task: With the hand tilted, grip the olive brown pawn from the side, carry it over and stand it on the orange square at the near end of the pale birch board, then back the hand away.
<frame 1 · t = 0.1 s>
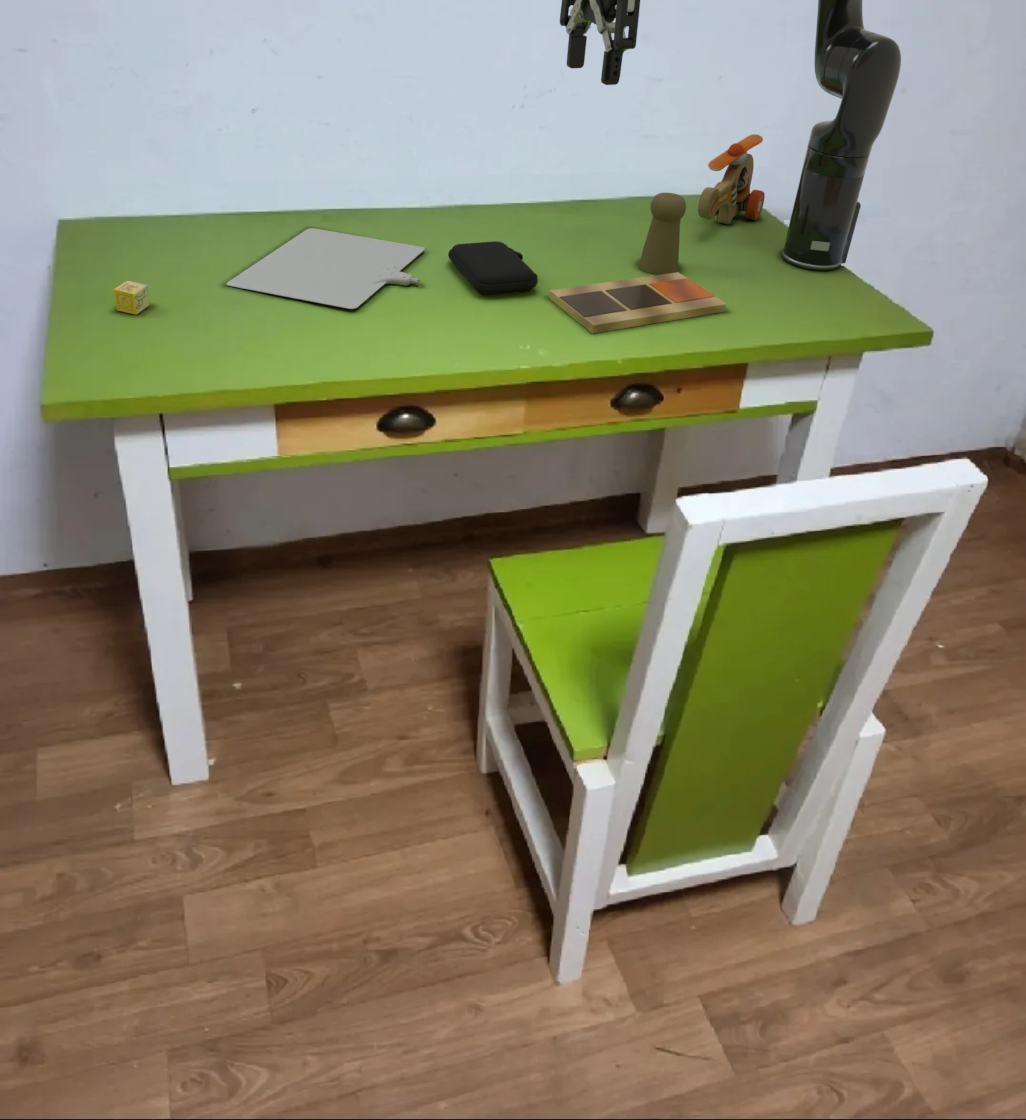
hand: (591, 75, 133), 29 cm above the table, tool pointing down, fingers open, 8 cm apart
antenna: (342, 271, 152), on the table
carrying case: (494, 278, 154), on the table
alphabet block: (133, 310, 137), on the table
board: (637, 305, 150), on the table
olive brown pawn: (658, 268, 162), on the table
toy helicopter: (722, 225, 180), on the table
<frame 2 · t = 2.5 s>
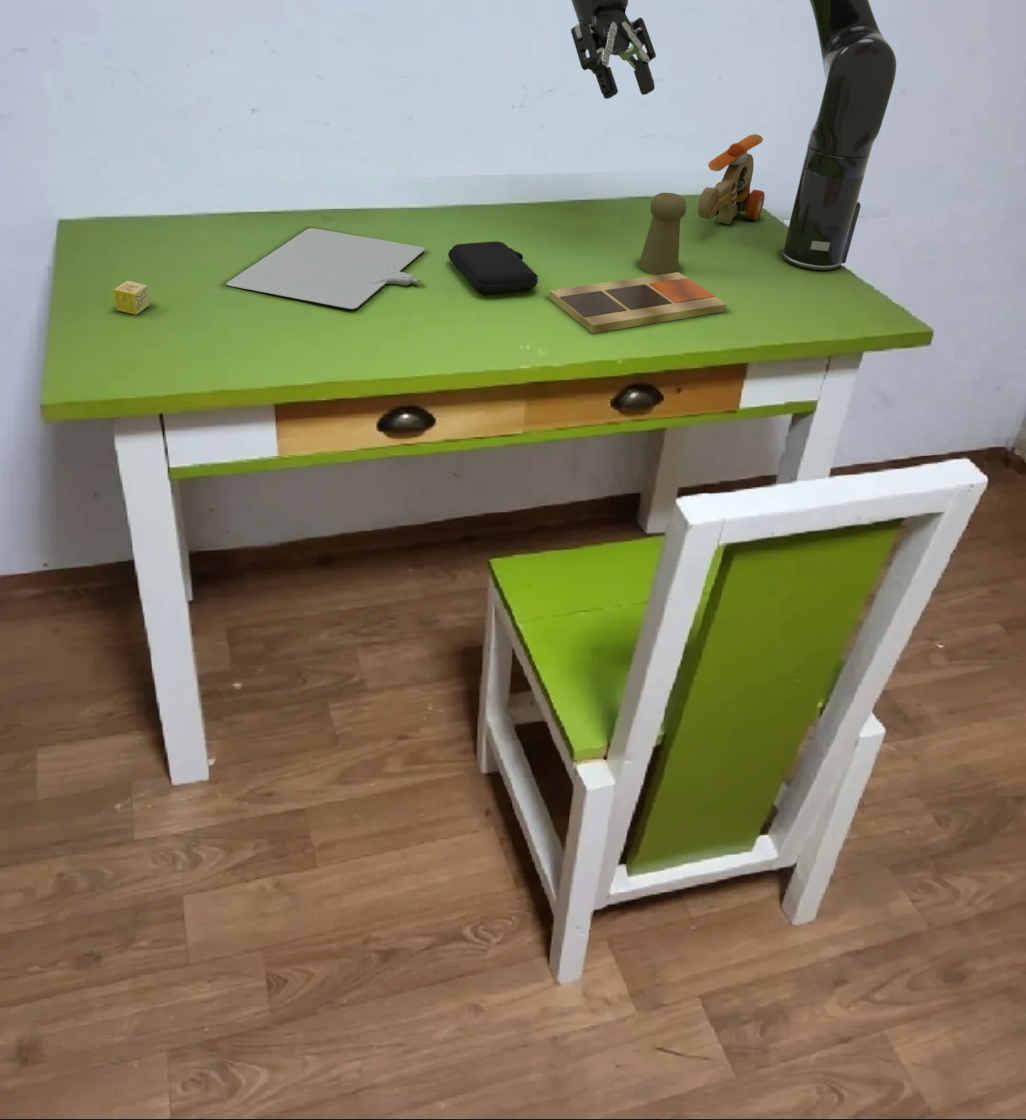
hand: (630, 94, 154), 23 cm above the table, tool tilted 35°, fingers open, 8 cm apart
nothing on the table moved.
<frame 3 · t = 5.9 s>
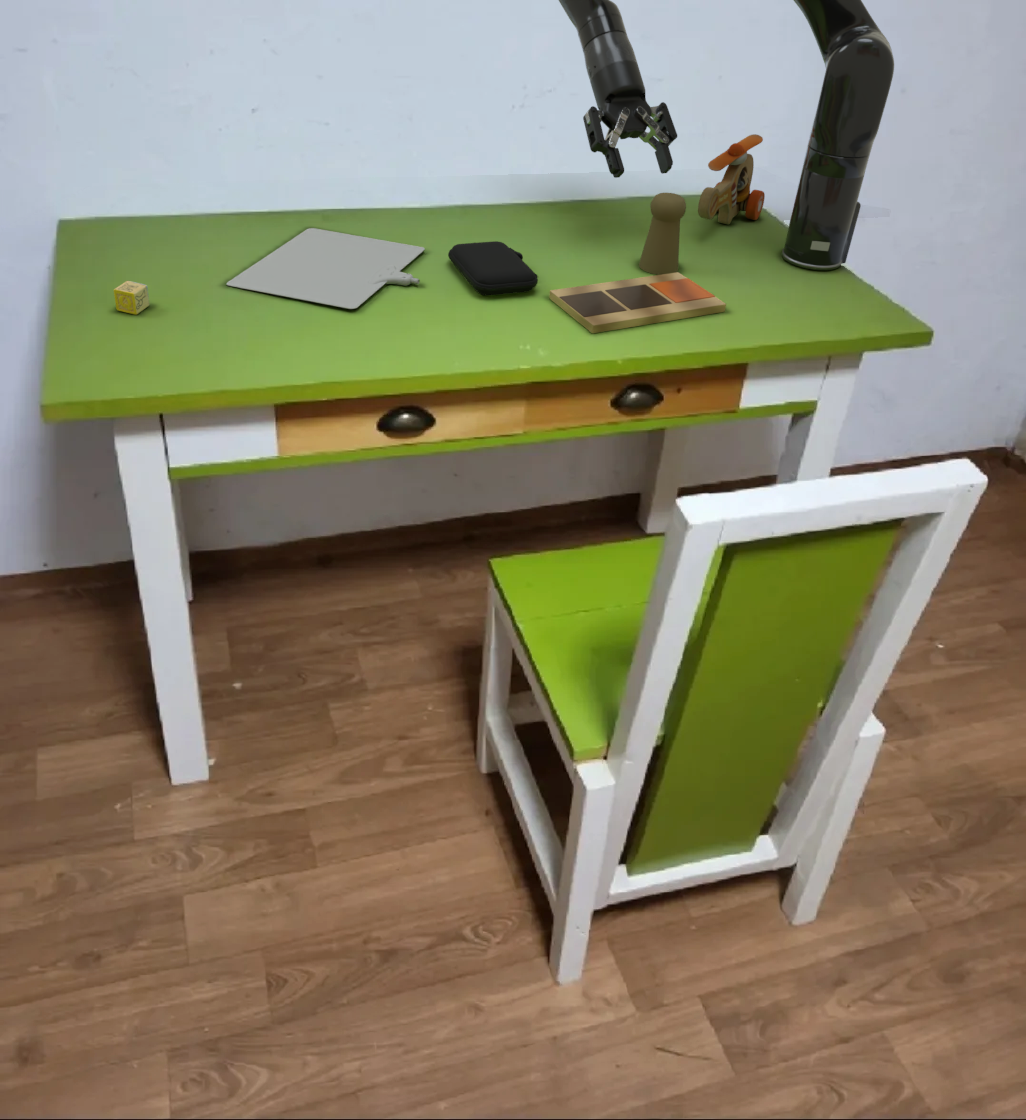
hand: (643, 173, 160), 12 cm above the table, tool tilted 45°, fingers open, 8 cm apart
nothing on the table moved.
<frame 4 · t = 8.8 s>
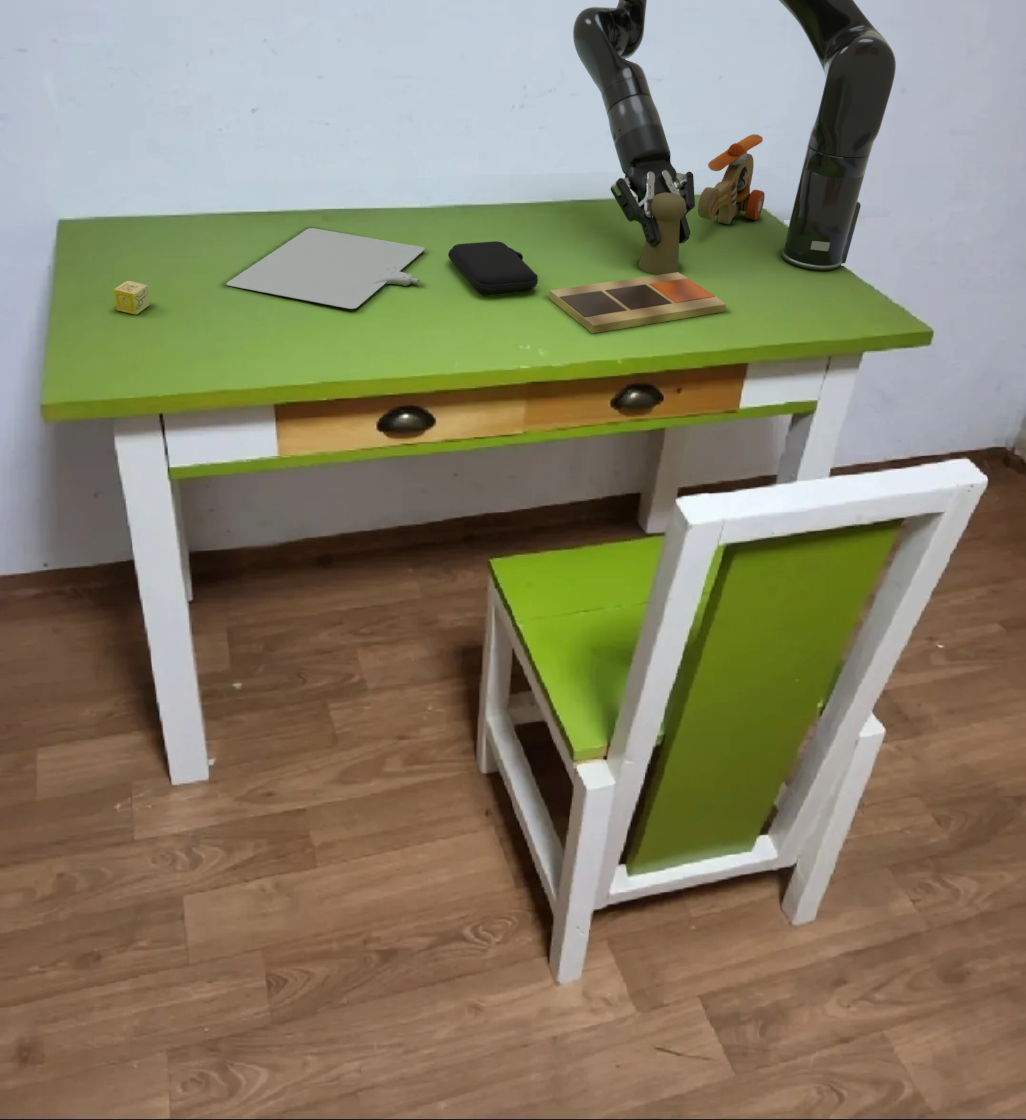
hand: (670, 242, 158), 5 cm above the table, tool tilted 45°, fingers closed on olive brown pawn, 4 cm apart
olive brown pawn: (658, 268, 162), on the table, touching gripper
everything else where it was.
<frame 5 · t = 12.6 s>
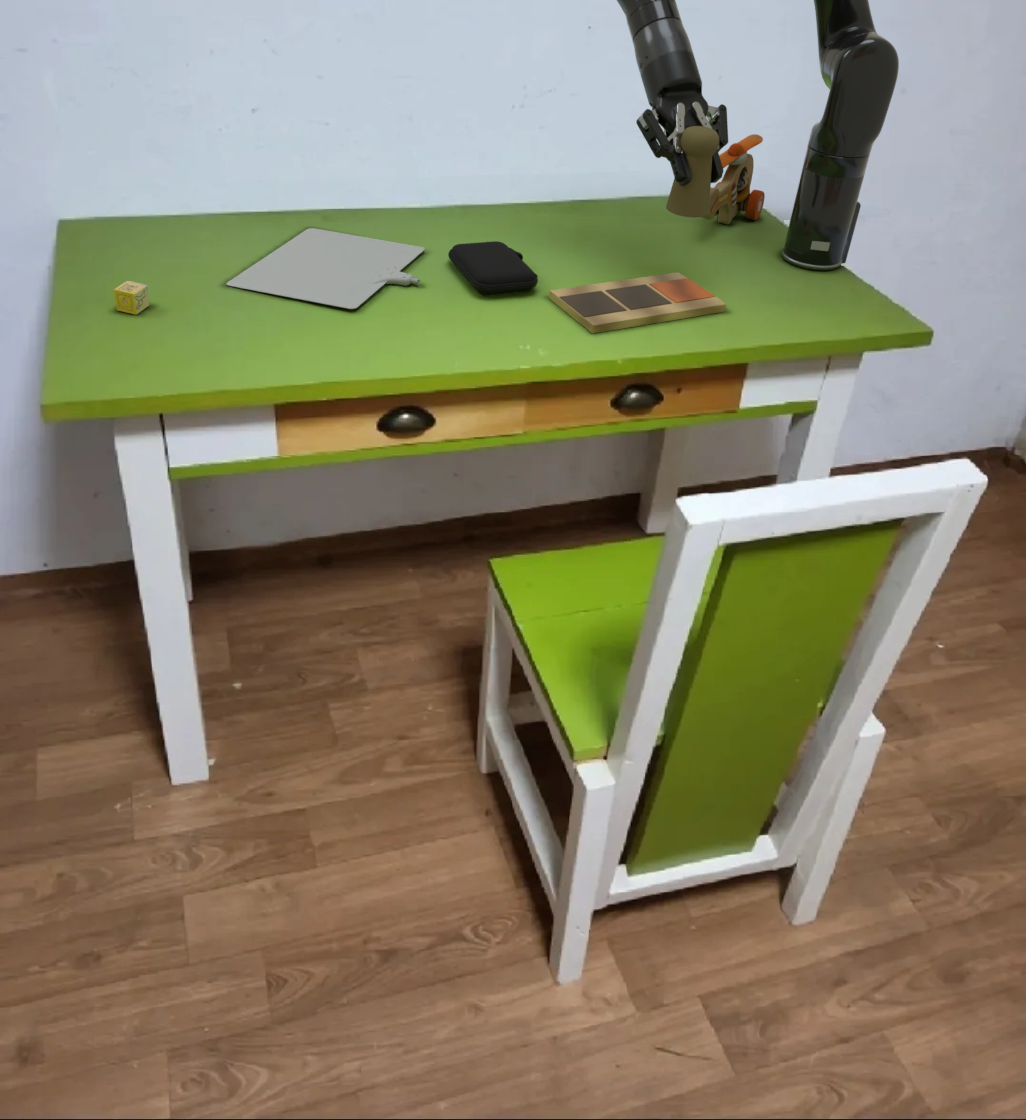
hand: (701, 181, 144), 16 cm above the table, tool tilted 45°, fingers closed on olive brown pawn, 4 cm apart
olive brown pawn: (687, 211, 148), point 12 cm above the table, touching gripper
everything else where it was.
when the fingers open (6 cm above the table, at t = 16.2 s): olive brown pawn stays where it is, resting on board.
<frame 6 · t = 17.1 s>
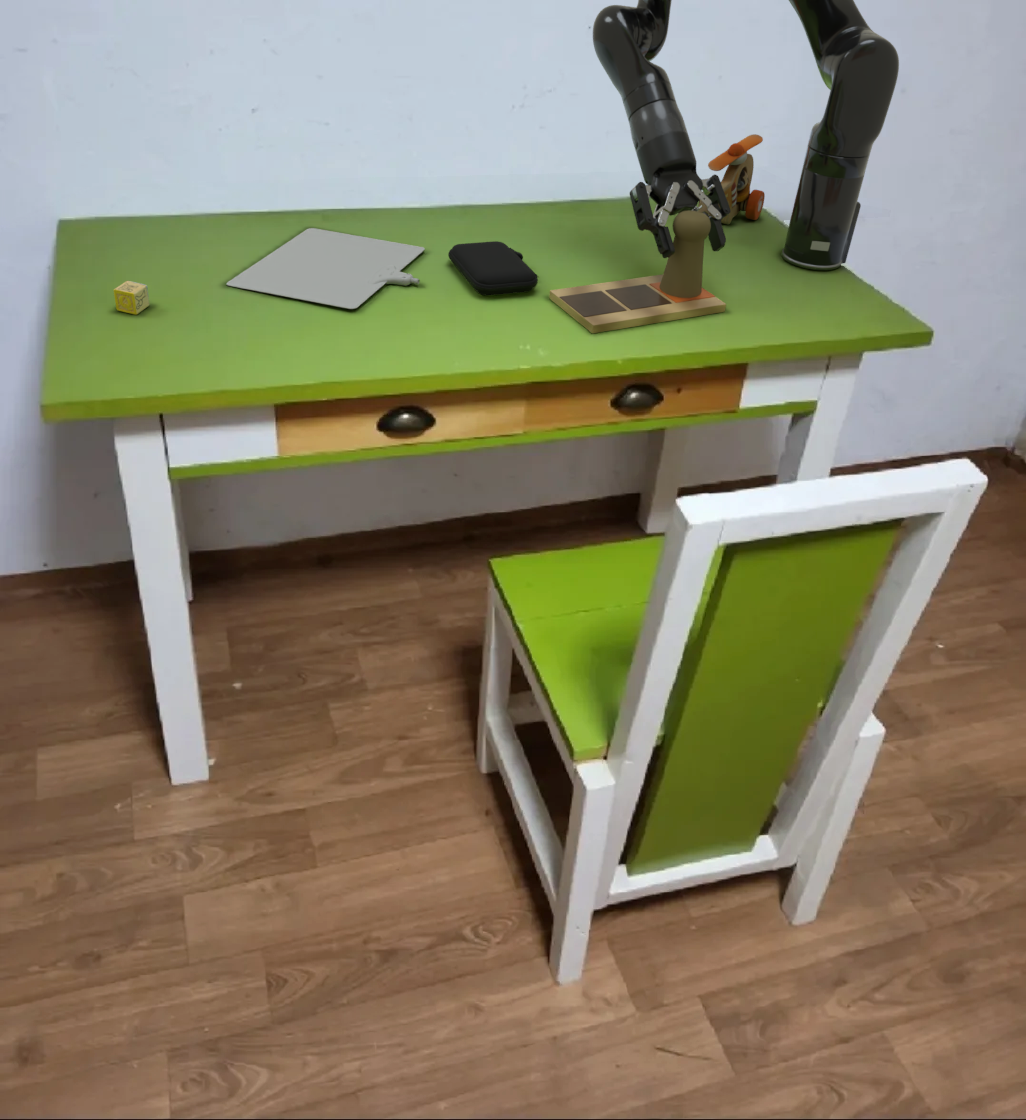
hand: (694, 252, 148), 7 cm above the table, tool tilted 45°, fingers open, 8 cm apart
olive brown pawn: (680, 290, 152), point 1 cm above the table, touching board
everything else where it was.
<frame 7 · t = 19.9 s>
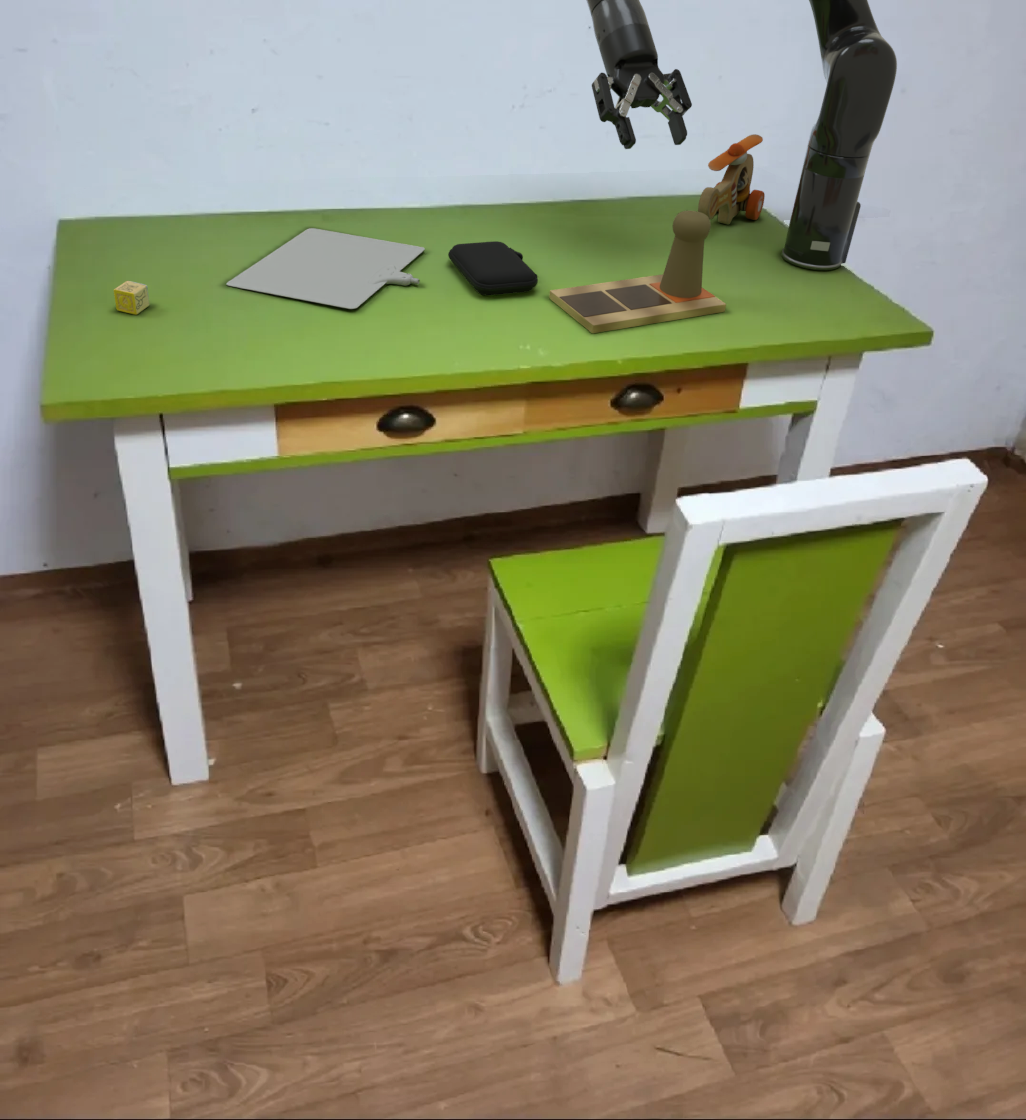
hand: (656, 144, 150), 18 cm above the table, tool tilted 45°, fingers open, 8 cm apart
nothing on the table moved.
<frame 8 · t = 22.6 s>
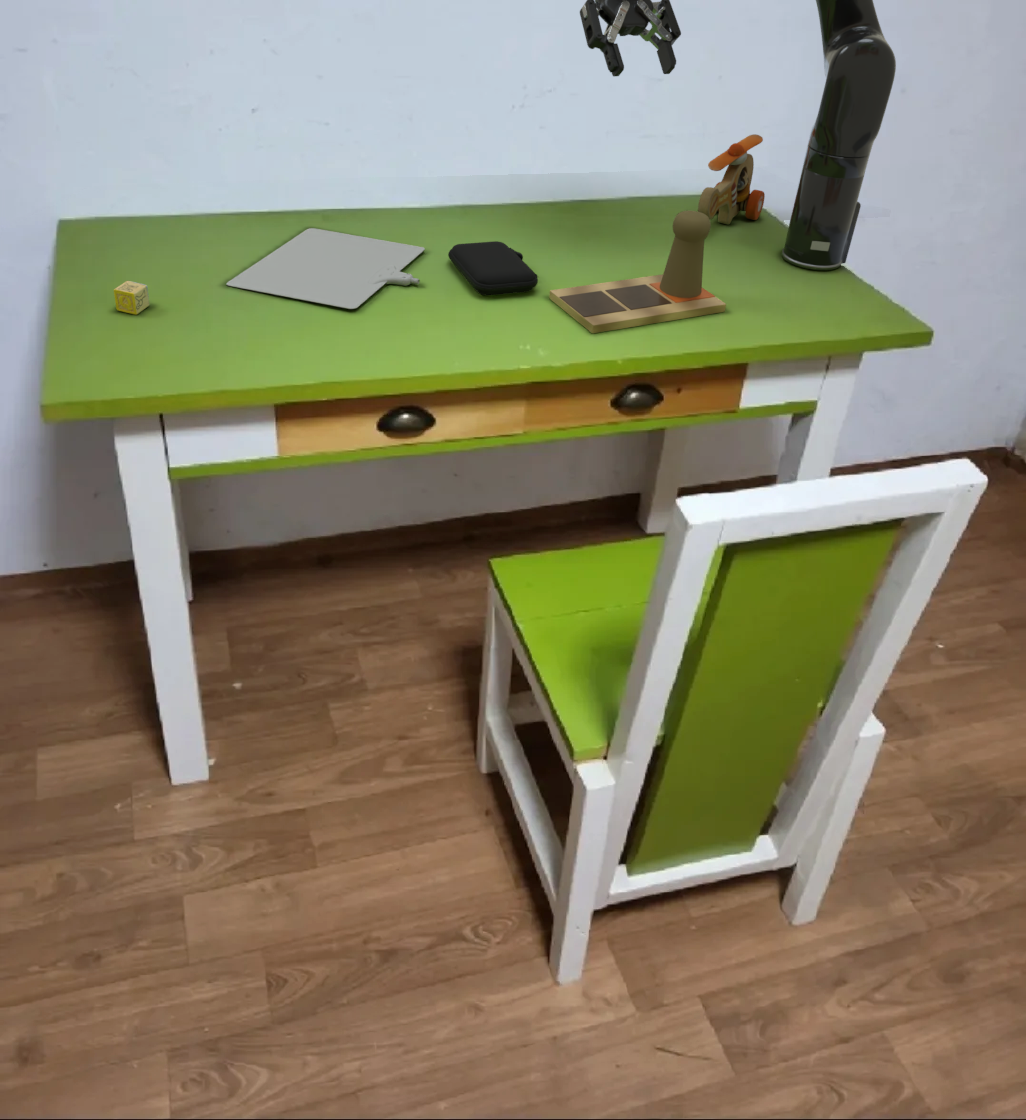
hand: (644, 72, 148), 27 cm above the table, tool tilted 45°, fingers open, 8 cm apart
nothing on the table moved.
at the end: olive brown pawn 0.2 cm from the target spot on the board, point 1.1 cm above the board's base; olive brown pawn tilted 0°; the gripper is holding nothing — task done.
